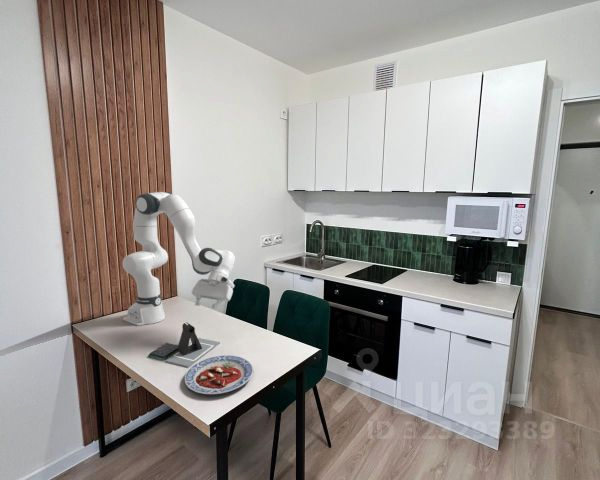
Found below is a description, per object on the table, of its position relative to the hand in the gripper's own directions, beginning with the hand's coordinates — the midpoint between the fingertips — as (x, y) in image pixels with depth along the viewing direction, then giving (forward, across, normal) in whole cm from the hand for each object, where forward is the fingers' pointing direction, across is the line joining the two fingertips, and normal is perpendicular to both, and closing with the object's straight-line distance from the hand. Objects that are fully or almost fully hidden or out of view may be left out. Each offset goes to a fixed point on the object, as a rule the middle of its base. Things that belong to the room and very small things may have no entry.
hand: (205, 306), depth 153 cm
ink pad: (+23, -11, +2) cm, 26 cm away
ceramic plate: (+28, +22, -2) cm, 36 cm away
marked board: (+19, 0, +6) cm, 20 cm away
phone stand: (+19, -2, +5) cm, 20 cm away
